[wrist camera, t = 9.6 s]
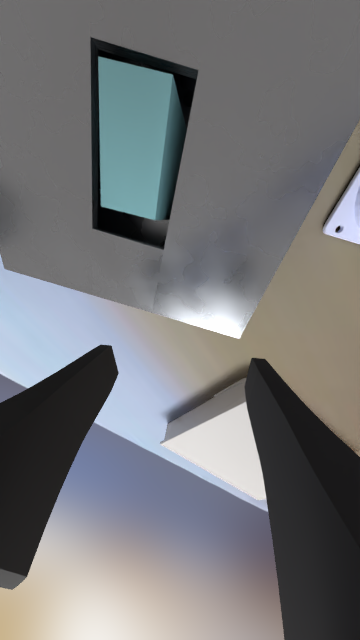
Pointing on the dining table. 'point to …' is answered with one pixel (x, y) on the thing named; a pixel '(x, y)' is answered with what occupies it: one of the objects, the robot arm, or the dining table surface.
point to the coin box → (198, 153)
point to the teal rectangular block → (139, 139)
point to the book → (220, 440)
